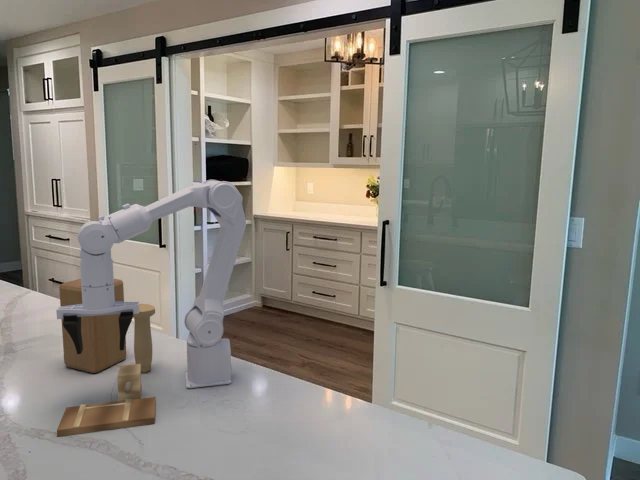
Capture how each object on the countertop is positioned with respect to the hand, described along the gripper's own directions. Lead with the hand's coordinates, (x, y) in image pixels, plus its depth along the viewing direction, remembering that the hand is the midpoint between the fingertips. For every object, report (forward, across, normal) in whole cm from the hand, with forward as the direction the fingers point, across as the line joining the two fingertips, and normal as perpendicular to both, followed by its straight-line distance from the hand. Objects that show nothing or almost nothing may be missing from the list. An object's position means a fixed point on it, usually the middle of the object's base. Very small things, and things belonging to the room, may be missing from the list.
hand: (101, 350), depth 93 cm
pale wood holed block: (+11, -5, +2) cm, 12 cm away
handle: (+11, -7, -12) cm, 17 cm away
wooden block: (+11, +4, -19) cm, 22 cm away
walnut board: (+10, -2, +8) cm, 13 cm away
